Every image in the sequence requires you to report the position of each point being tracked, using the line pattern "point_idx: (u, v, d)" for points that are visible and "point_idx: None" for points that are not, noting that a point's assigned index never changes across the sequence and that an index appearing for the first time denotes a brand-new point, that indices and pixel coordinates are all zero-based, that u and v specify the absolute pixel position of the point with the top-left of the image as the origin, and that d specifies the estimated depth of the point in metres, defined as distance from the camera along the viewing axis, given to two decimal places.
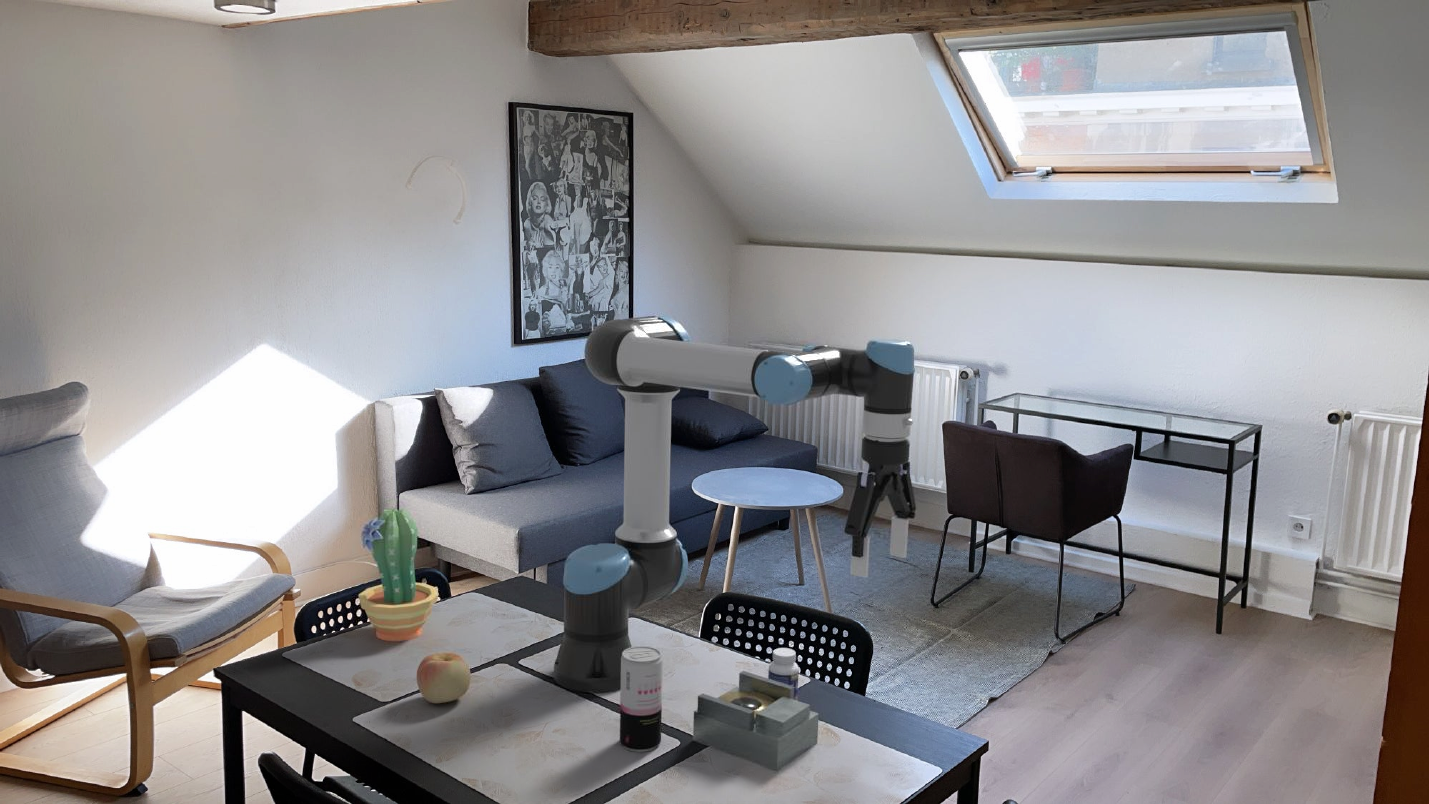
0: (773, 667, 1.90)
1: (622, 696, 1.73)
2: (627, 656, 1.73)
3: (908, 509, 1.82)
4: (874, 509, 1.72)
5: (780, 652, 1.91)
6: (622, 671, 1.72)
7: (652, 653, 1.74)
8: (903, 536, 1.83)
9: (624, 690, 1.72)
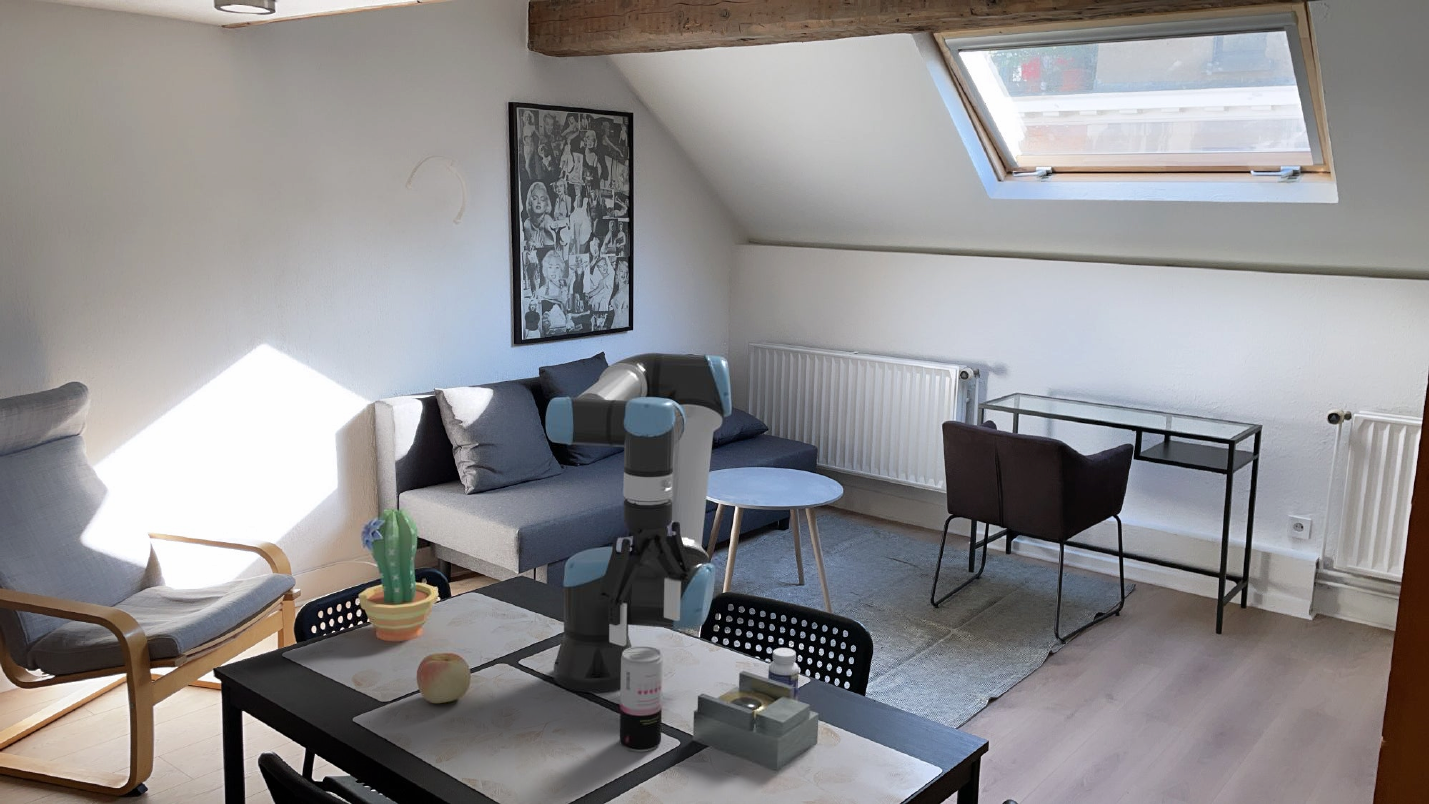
0: (773, 667, 1.90)
1: (622, 696, 1.73)
2: (627, 656, 1.72)
3: (680, 571, 1.77)
4: (632, 575, 1.66)
5: (780, 652, 1.91)
6: (622, 671, 1.72)
7: (652, 653, 1.74)
8: (675, 598, 1.77)
9: (624, 690, 1.72)
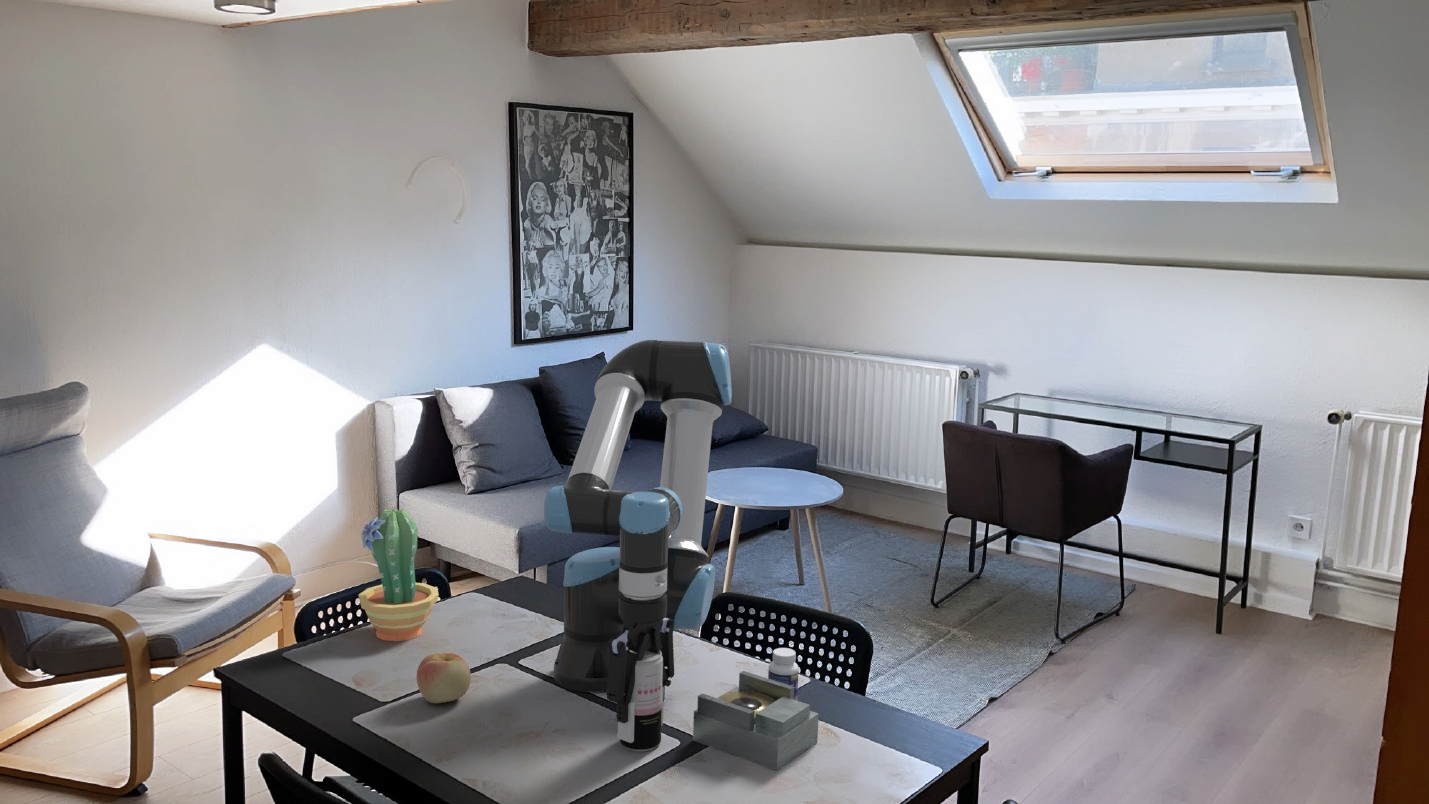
0: (773, 667, 1.90)
1: None
2: None
3: (664, 675, 1.77)
4: (634, 672, 1.70)
5: (780, 652, 1.91)
6: None
7: (652, 653, 1.74)
8: None
9: None
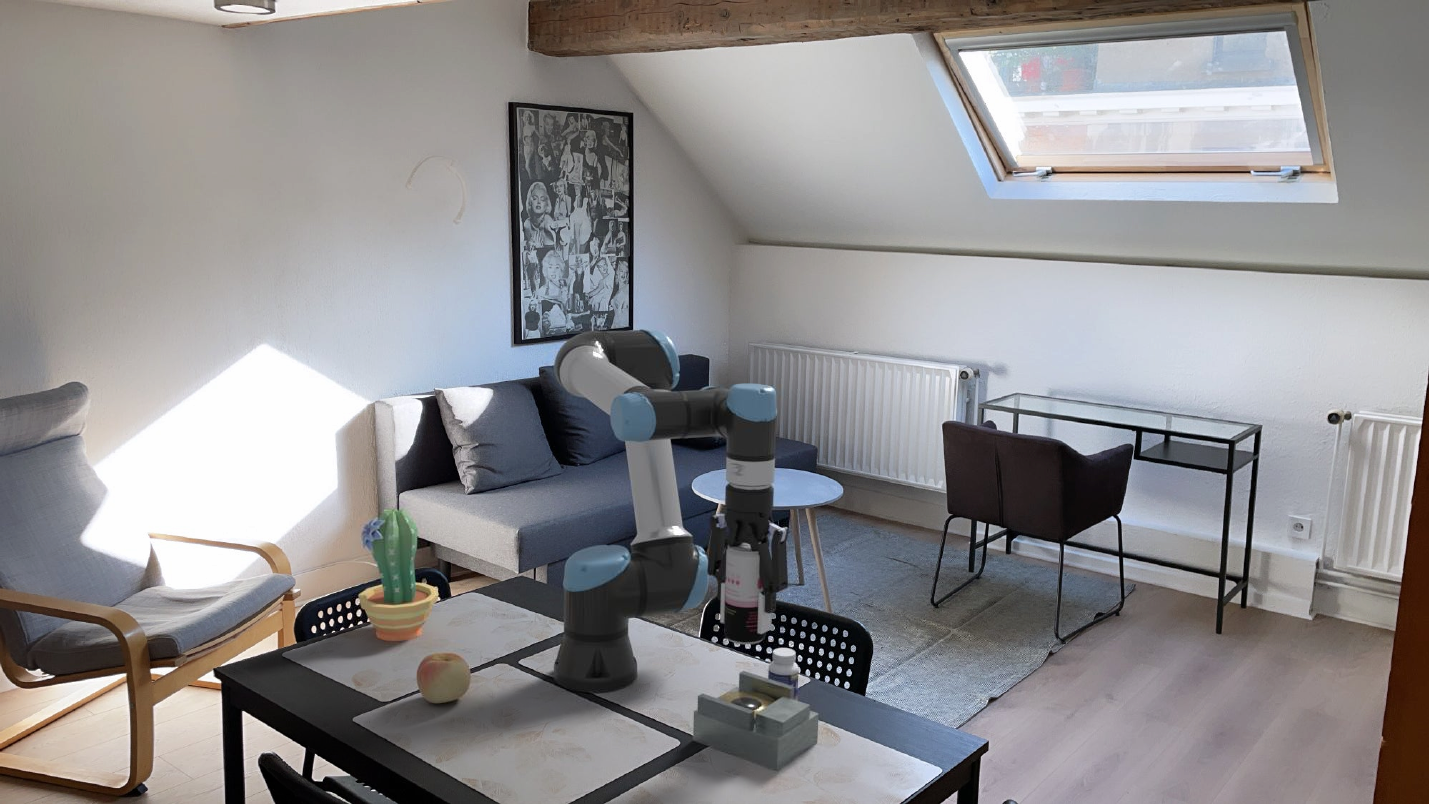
0: (773, 667, 1.90)
1: None
2: (743, 543, 1.75)
3: (765, 583, 1.70)
4: None
5: (780, 652, 1.91)
6: None
7: None
8: None
9: None
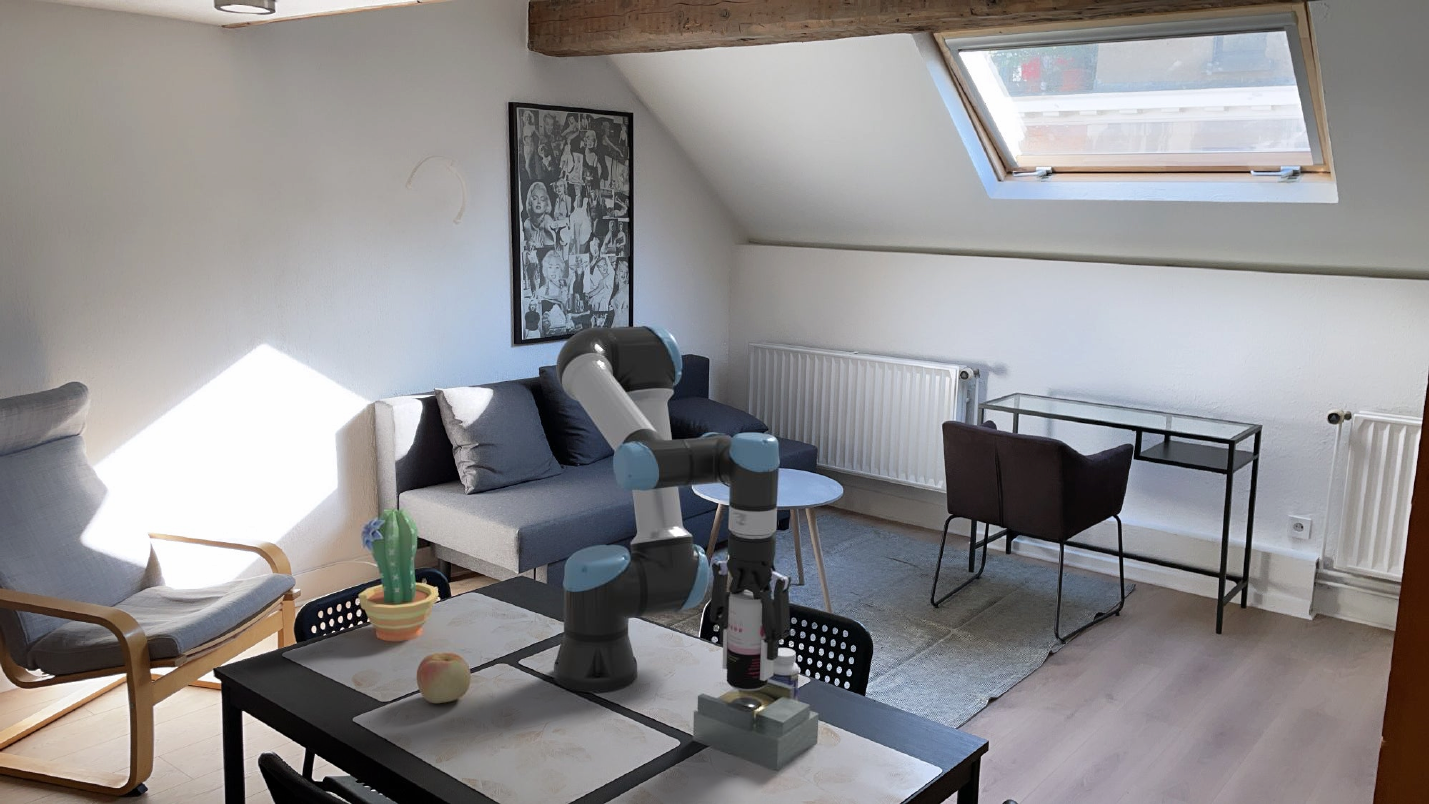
0: None
1: None
2: (745, 590, 1.76)
3: (768, 631, 1.72)
4: (728, 601, 1.75)
5: (780, 652, 1.91)
6: None
7: None
8: None
9: None
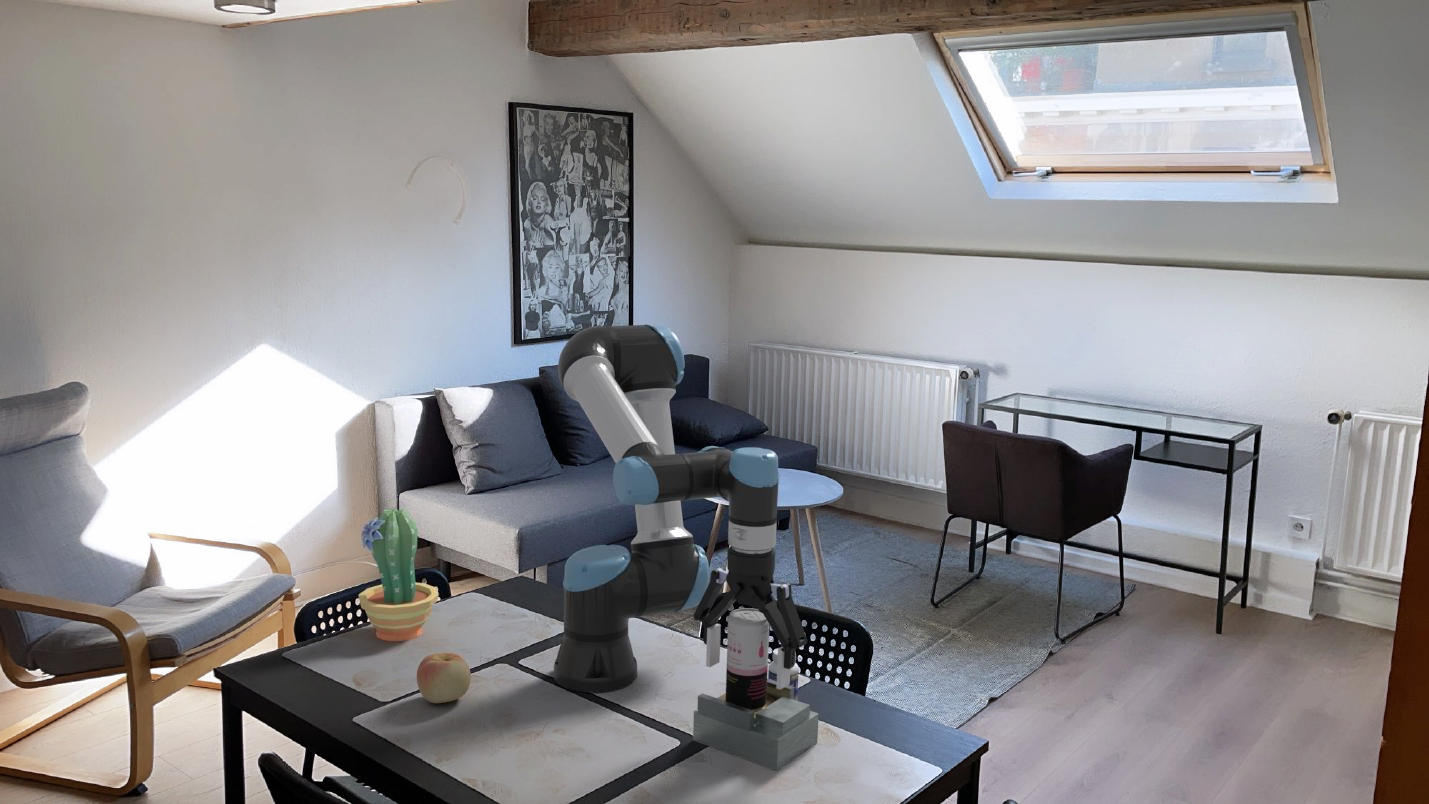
0: (773, 667, 1.90)
1: None
2: (744, 611, 1.77)
3: (783, 639, 1.70)
4: (718, 606, 1.77)
5: None
6: None
7: (753, 619, 1.73)
8: None
9: None
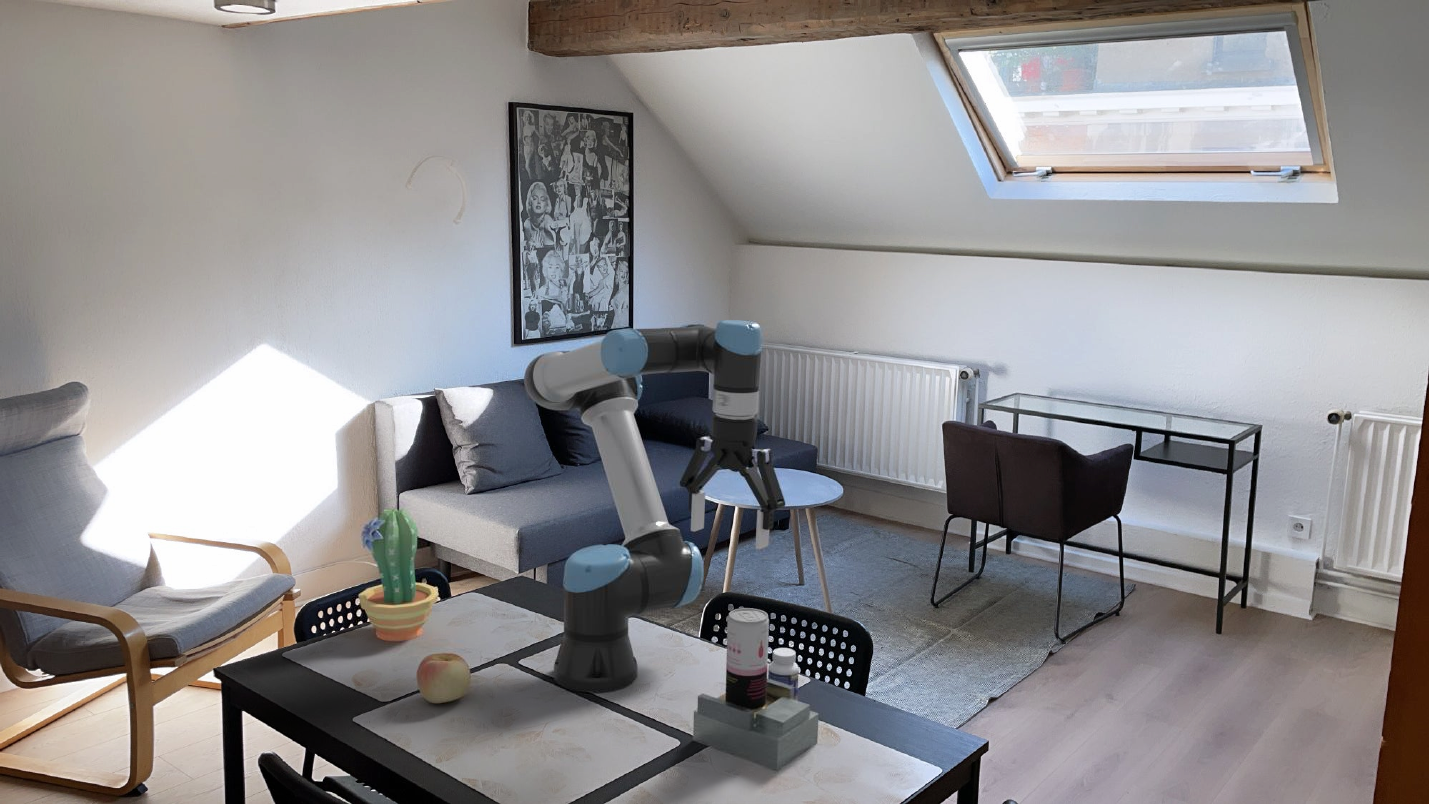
0: (773, 667, 1.90)
1: None
2: (743, 611, 1.77)
3: (762, 501, 1.79)
4: (703, 473, 1.86)
5: (780, 652, 1.91)
6: None
7: (753, 619, 1.73)
8: None
9: None
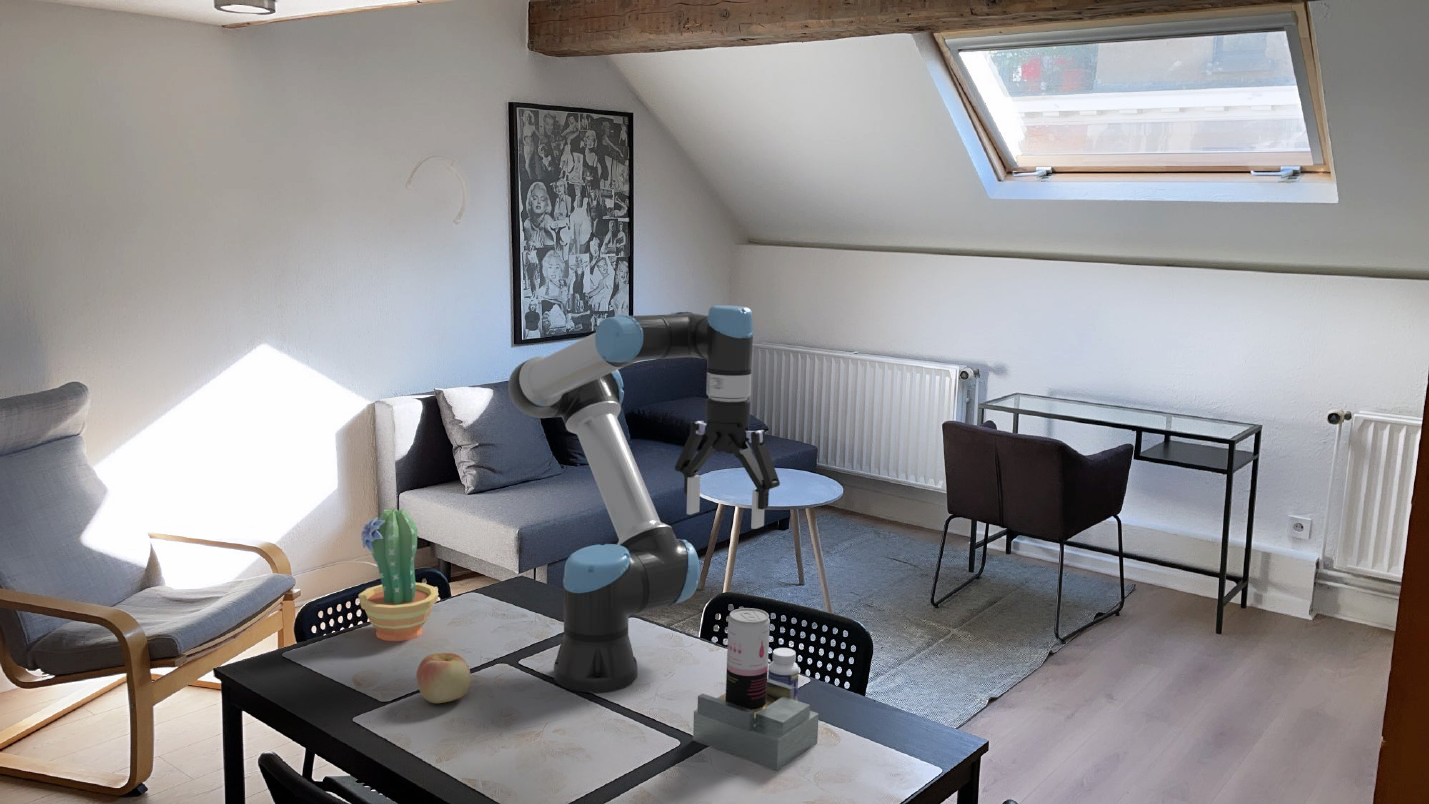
0: (773, 667, 1.90)
1: None
2: (744, 611, 1.77)
3: (757, 481, 1.83)
4: (698, 456, 1.90)
5: (780, 652, 1.91)
6: None
7: (754, 620, 1.73)
8: None
9: None
